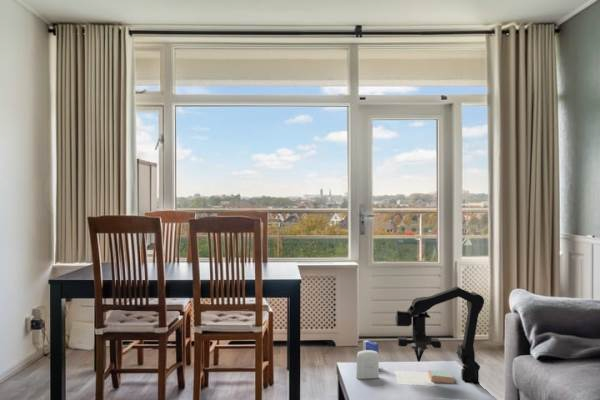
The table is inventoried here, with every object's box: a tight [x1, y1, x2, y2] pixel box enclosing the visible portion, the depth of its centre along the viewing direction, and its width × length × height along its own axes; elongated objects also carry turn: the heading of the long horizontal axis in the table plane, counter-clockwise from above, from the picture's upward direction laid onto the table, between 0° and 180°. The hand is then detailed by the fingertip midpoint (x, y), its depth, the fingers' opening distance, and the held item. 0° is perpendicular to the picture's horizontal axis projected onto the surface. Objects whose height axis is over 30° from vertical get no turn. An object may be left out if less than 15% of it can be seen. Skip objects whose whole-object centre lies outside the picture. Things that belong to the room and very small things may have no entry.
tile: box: [428, 369, 455, 384], centre depth 200 cm, size 3×7×10 cm
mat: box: [394, 370, 436, 387], centre depth 201 cm, size 16×16×1 cm
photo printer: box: [356, 350, 380, 380], centre depth 203 cm, size 10×4×12 cm, turn 98°
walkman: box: [362, 340, 379, 353], centre depth 217 cm, size 8×3×12 cm, turn 40°
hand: (418, 361), depth 201 cm, fingers closed
